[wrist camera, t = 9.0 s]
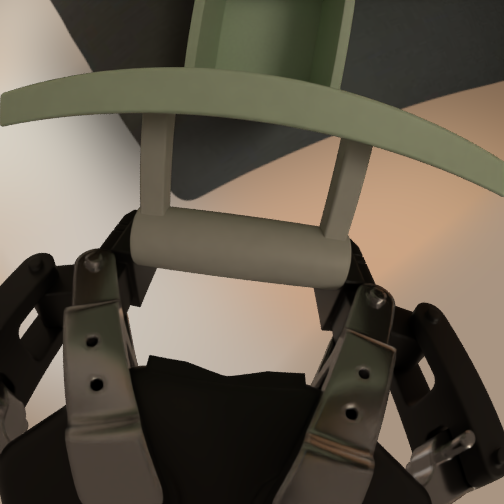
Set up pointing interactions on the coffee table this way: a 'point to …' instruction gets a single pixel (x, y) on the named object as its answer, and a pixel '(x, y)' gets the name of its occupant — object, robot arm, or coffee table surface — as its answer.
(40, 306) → the robot arm
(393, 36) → the coffee table surface
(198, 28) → the bin
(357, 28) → the coffee table surface
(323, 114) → the bin lid
